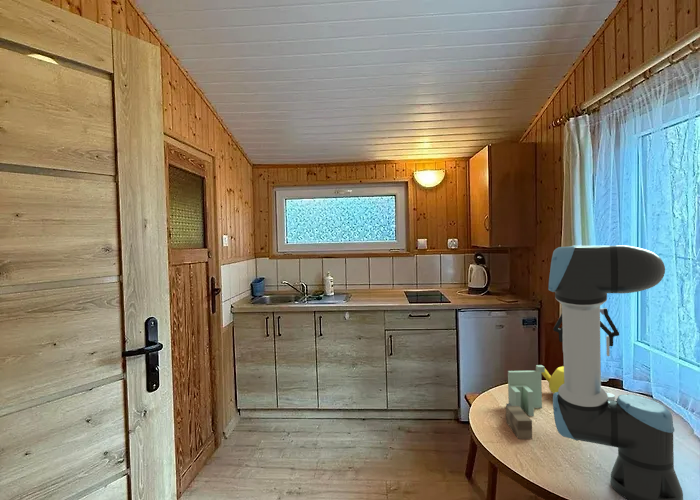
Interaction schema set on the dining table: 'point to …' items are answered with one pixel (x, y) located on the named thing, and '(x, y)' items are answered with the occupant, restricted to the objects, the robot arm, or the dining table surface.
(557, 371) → the teapot
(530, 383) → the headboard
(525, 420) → the rail
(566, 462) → the dining table surface
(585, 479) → the dining table surface
